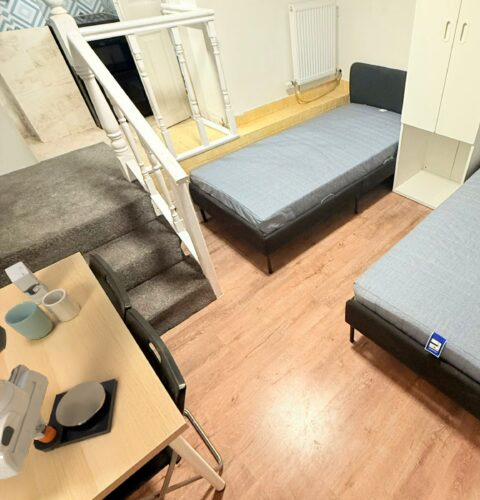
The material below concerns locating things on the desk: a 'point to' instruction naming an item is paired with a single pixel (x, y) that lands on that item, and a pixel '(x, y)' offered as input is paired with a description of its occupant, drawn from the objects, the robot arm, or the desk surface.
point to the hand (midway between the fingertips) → (42, 432)
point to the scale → (87, 430)
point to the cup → (29, 320)
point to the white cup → (60, 305)
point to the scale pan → (80, 404)
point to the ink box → (27, 282)
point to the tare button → (48, 435)
